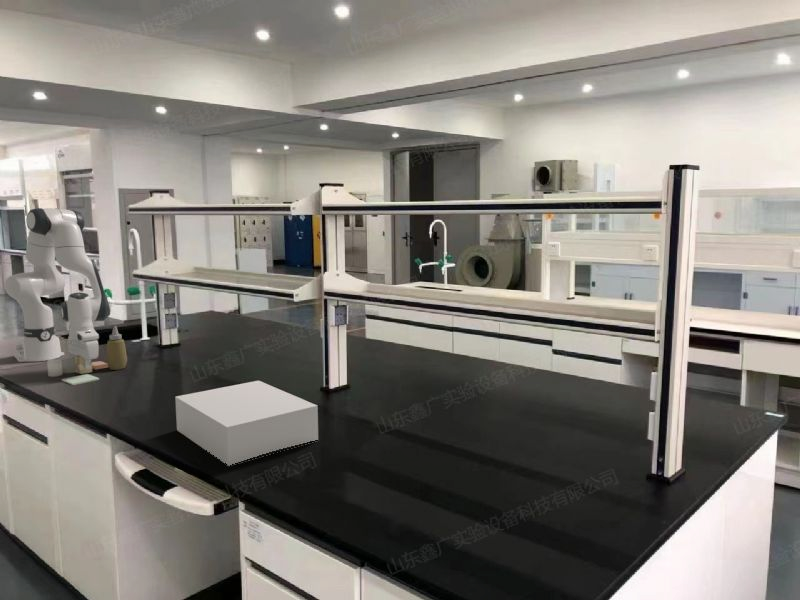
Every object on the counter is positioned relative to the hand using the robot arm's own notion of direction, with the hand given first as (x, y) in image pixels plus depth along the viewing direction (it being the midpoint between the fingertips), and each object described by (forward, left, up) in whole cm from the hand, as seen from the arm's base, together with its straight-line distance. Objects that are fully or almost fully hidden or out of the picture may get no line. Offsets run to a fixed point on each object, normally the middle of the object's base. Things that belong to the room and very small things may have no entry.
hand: (83, 366), depth 251 cm
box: (+110, -1, -3) cm, 110 cm away
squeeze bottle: (+3, +12, -3) cm, 13 cm away
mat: (+10, -6, -3) cm, 12 cm away
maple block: (0, 0, -2) cm, 2 cm away
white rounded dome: (-6, -9, -3) cm, 11 cm away
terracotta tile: (-6, +8, -3) cm, 11 cm away
